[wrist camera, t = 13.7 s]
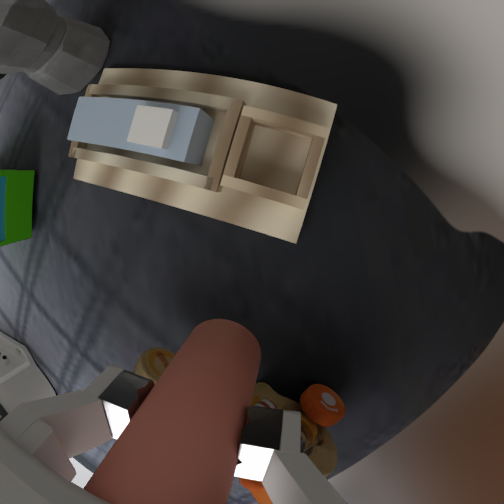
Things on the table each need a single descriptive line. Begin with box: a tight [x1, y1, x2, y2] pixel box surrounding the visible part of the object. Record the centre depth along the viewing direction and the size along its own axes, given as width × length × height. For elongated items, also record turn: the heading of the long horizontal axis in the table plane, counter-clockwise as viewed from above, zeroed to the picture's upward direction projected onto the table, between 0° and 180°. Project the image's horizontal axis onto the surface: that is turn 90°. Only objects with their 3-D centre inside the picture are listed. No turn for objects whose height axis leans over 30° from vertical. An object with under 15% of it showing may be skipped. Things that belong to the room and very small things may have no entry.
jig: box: [68, 68, 337, 244], centre depth 21 cm, size 23×12×4 cm, turn 74°
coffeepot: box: [0, 0, 110, 95], centre depth 14 cm, size 15×9×18 cm, turn 102°
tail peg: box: [84, 319, 261, 504], centre depth 7 cm, size 3×3×8 cm
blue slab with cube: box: [67, 97, 215, 166], centre depth 20 cm, size 12×4×5 cm, turn 74°
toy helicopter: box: [134, 348, 345, 504], centre depth 21 cm, size 8×21×14 cm, turn 59°
